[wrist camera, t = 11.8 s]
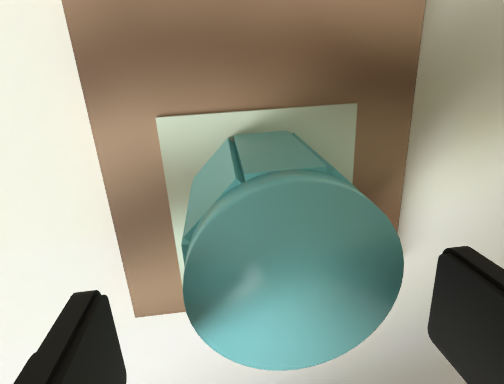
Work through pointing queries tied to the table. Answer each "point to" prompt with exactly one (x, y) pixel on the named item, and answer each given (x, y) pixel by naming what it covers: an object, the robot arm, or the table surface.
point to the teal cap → (284, 255)
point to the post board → (236, 104)
